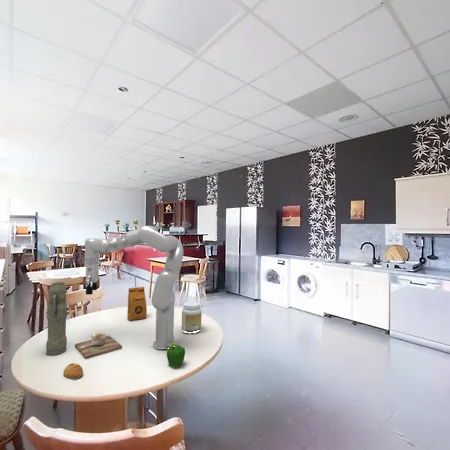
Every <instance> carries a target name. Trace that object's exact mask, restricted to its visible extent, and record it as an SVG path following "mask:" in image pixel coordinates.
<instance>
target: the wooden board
mask: <svg viewBox="0 0 450 450" xmlns="http://www.w3.org/2000/svg"><path fill="white" fill-rule="evenodd" d="M90 344H92V339H91V340H89V339H88V340H86V341H82V342H79V343H74V348H75V349H76V350H77V352H79V354H80V355H81V356H82V357H83V358H84V359H85V360H88V359H91V358H95V357H98V356H102V355H105V354H108V353H111V352H116V351H119V350H121V349H123V345H122V344H120V343H119V342H118V341H117V340H116V339H114V337H112V336H110V335H105V342H104V345H102V346H99V347H94V346H93V345H92V346H88V347H85V348H81V347H83V346H86V345H90Z"/></svg>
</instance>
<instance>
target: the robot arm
mask: <svg viewBox="0 0 450 450" xmlns="http://www.w3.org/2000/svg"><path fill="white" fill-rule="evenodd" d="M143 244H146V245H147V246H149V247H150V248H153V249H155V250H157V251H159V252H160V253H167V256H166V259H165V264H164V267H163V270H162V271H161V272H160V273H159V274H158V275H157V278H156V279H155V283H154V287H153V292H152V296H151V304H152V306H153V308H154V309H156V312H155V340H154V341H153V342H152V348H153V347H154V348H153V349H154V350H157V349H168V348H170V347H171V346H174V345H171V343H175V344H176V345H177V341H176V340H175V338H174V332H175V331H174V330H175V328H174V326H175V324H174V323H175V322H174V321H175V320H174V319H175V304H176V303H175V302H176V301H175V300H176V293H175V291H174V287H175V285H176V284H177V283H178V281H179V277H180V272H181V267H182V263H183V259H184V258H183V257H184V247H183V244H182V242H181V241H180V240H179V239H178V237H176V236H174V235H170V234H169V235H165V234H162V233H161V232H159V230H158V229H157V228H156V227H155V226H153V225H143V226H142V227H139V228H136V229H134V230H130V231H129V230H128V231H127V232H125V234H122V235H119V236H115V237H110V238H102V239H97V238H87V239H86V240H85V241H84V265H85V284H86V285H85V295H86V296H87V295H93V291H97V289H98V287H97V285H98V281H99V279H100V273H99V271H100V270H99V268H100V267H99V265H100V259H101V258H100V255H101V254H107V253H111V252H115V251H119V250H123V249H126V248H132V247H136V246H138V245H143Z"/></svg>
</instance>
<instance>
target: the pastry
mask: <svg viewBox="0 0 450 450" xmlns="http://www.w3.org/2000/svg"><path fill="white" fill-rule="evenodd" d="M63 376H65V377H66V378H68V379H70V380H78V379H79V378H81V377H82V376H84V370H83V367H82V366H81V365H80V364H79V363H75V362H72V363H69V364H68V365H66V367H65V368H64V369H63Z"/></svg>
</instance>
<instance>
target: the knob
mask: <svg viewBox="0 0 450 450" xmlns="http://www.w3.org/2000/svg"><path fill="white" fill-rule="evenodd" d="M105 336H106V333H105V332H104V331H102V332H97V333H92V334H91V340H92V344H90V345H86V346H83V347H81V348H85V347H88V346H92V345H93V346H94V347H99V346H102V345H104V342H105Z"/></svg>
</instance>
